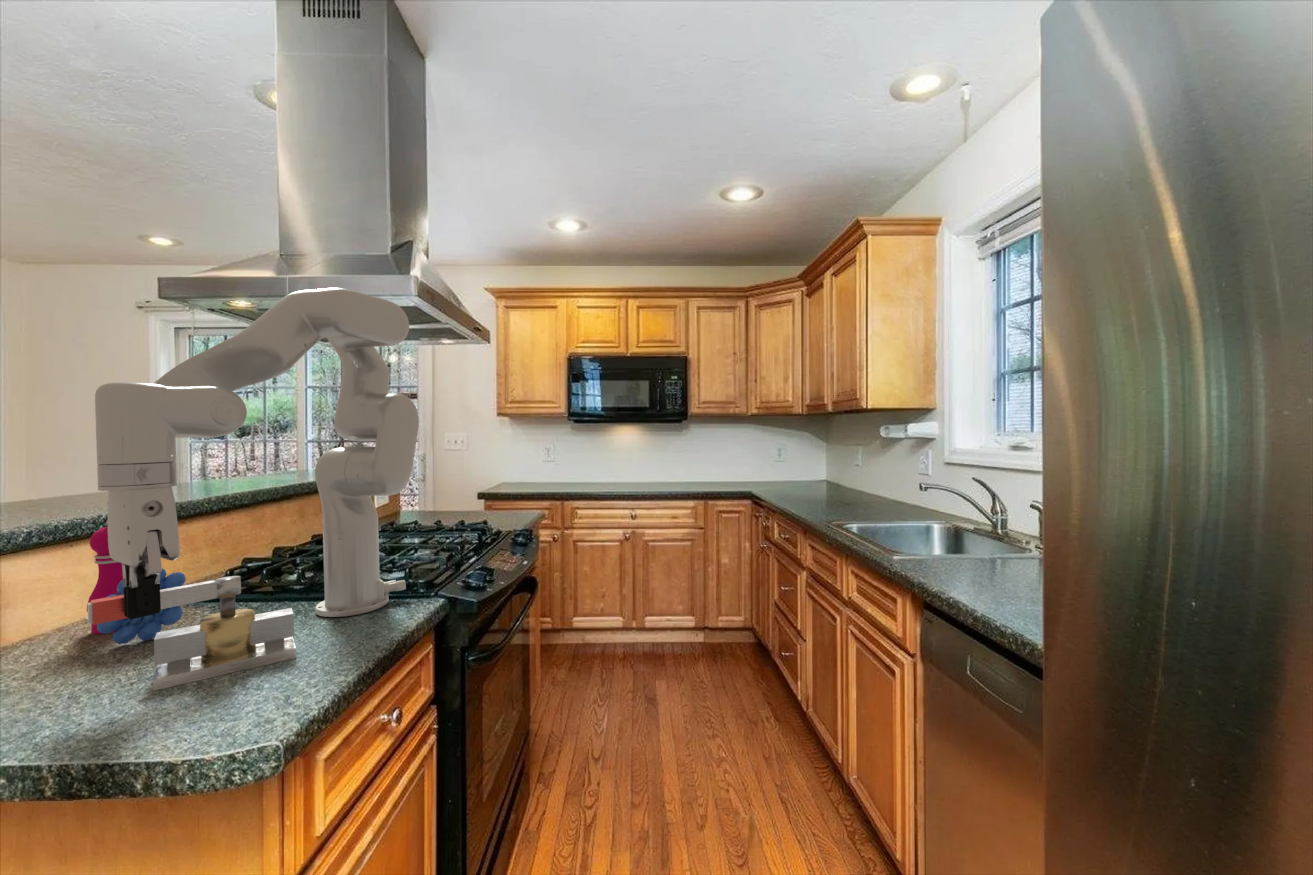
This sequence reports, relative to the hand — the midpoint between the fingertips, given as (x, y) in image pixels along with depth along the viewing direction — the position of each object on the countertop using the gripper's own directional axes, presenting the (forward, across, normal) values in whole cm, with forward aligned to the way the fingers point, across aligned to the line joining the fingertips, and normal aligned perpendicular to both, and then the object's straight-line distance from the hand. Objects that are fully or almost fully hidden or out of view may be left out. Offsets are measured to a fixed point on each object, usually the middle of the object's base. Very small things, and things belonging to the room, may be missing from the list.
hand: (142, 614), depth 71 cm
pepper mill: (+11, +38, -6) cm, 40 cm away
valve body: (+11, +2, -10) cm, 15 cm away
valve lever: (+1, +3, -4) cm, 4 cm away
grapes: (+11, +26, -7) cm, 29 cm away
